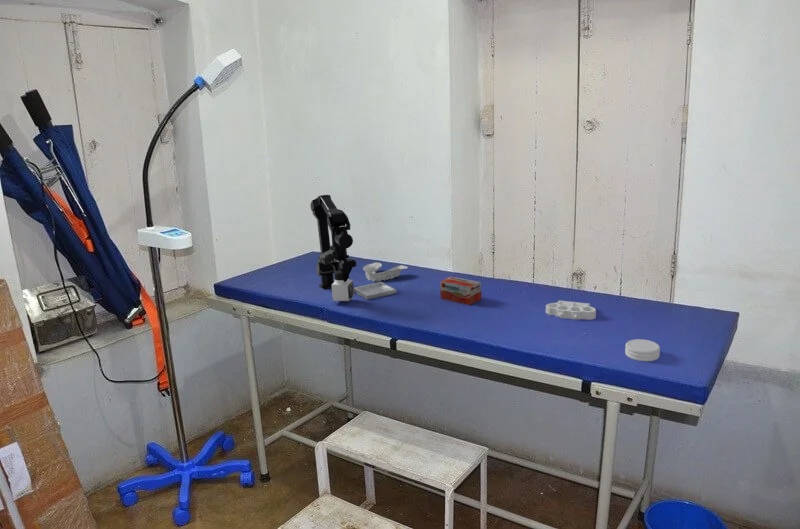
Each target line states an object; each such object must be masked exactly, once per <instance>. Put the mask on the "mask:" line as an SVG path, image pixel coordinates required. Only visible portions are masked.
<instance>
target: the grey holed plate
mask: <svg viewBox="0 0 800 529" xmlns="http://www.w3.org/2000/svg"><path fill="white" fill-rule="evenodd" d="M546 313H547V314H549V315H548V316H550V315H555V316H554V317H557V316H558V317H557V318H559V317H560V319H568V320H588V321H589V320H590V321H591V320H594V319H596V316H597V309H596V308H595V307H594V306H593V307H592V306H591V303H589V302H587V303H586V302H576V301H568V300H567V301H566V300H562V299H560V300H558V301H557V302H551V303H547V304H545V314H546ZM547 314H546V315H547Z"/></svg>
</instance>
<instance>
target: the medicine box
mask: <svg viewBox="0 0 800 529" xmlns="http://www.w3.org/2000/svg"><path fill="white" fill-rule="evenodd" d="M481 284H482V283H481V281H476V280H472V279H467V278H466V279H465V278H461V277H455V276H448V277H447V278H445V279H442V280H440V288H439V289H440V291H439V292H440V299H441V300H445V301H449V302H454V303H458V304H462V305H466V304H467V306H472V305H473V304H475V303H478V302H480V301H482V285H481Z"/></svg>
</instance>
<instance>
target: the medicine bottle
mask: <svg viewBox="0 0 800 529" xmlns="http://www.w3.org/2000/svg"><path fill="white" fill-rule="evenodd" d="M333 276H334V283H333V284H332V288H331V293H332V301H334V302H339V301H340V302H349V301H351V299H352V298H353V297H354V295H355V294H354V293H355V292H353V288H354V282H353V279H350V276H349V277H348V279H347V281H346V282H344V280H343V276H342V271H341V270H337V271H335V272H334V273H333Z"/></svg>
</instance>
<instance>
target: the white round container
mask: <svg viewBox="0 0 800 529" xmlns="http://www.w3.org/2000/svg"><path fill="white" fill-rule="evenodd" d="M624 349H625V351H624V355H625V356H626V357H628V358H629V359H632V360H634V361H639V362H653V361H656V360H659V358H660V357H661V356H660V353H661V351H660V350H661V347H660V345H659V344H658V343H657V342H655V341H653V340H649V339H638V338H636V339H630V340H628V341H627V342H626V343H625V348H624Z"/></svg>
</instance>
